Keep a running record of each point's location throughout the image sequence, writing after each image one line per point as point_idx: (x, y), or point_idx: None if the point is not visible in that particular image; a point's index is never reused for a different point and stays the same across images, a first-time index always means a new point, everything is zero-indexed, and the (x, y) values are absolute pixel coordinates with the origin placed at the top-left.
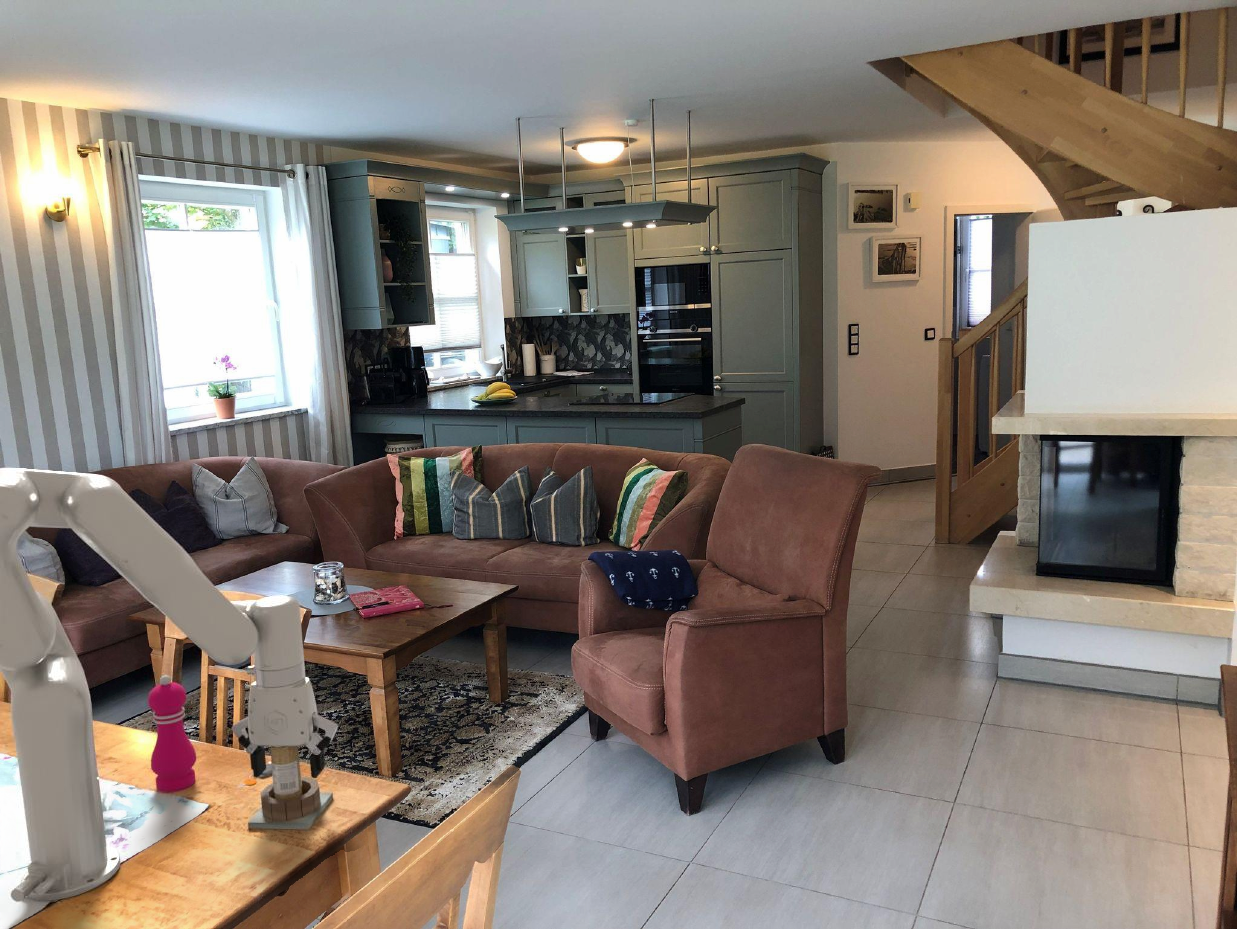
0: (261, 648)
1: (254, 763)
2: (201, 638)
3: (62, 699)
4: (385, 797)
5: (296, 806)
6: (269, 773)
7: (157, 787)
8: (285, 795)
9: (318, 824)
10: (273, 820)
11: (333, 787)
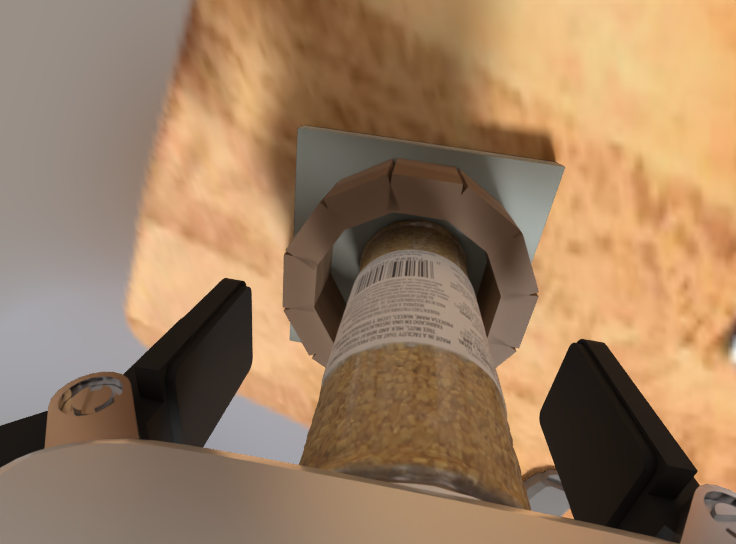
0: None
1: (634, 403)
2: None
3: None
4: (135, 308)
5: (346, 185)
6: (534, 483)
7: None
8: (407, 248)
9: (283, 163)
10: (452, 166)
11: (317, 386)
